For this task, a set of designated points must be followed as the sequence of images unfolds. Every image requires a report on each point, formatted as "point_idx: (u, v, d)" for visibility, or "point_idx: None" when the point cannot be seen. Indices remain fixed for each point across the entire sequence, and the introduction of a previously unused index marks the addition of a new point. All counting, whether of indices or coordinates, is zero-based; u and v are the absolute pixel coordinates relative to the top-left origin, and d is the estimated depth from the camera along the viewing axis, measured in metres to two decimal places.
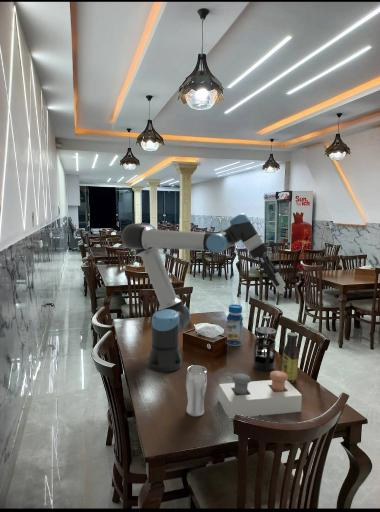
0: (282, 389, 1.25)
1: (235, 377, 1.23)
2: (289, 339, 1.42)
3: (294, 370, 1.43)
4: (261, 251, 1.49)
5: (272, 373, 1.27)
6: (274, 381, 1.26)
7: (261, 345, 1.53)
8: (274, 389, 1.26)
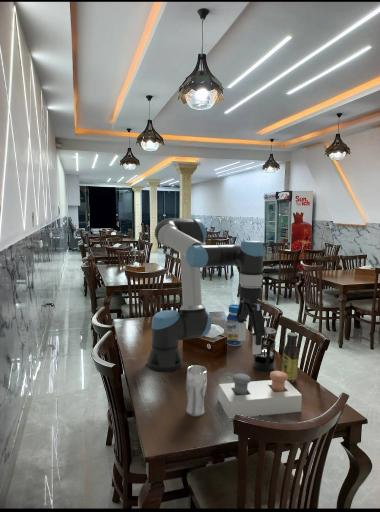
0: (282, 389, 1.25)
1: (235, 377, 1.23)
2: (289, 339, 1.42)
3: (294, 370, 1.43)
4: (258, 296, 1.19)
5: (272, 373, 1.27)
6: (274, 381, 1.26)
7: (261, 345, 1.53)
8: (274, 389, 1.26)
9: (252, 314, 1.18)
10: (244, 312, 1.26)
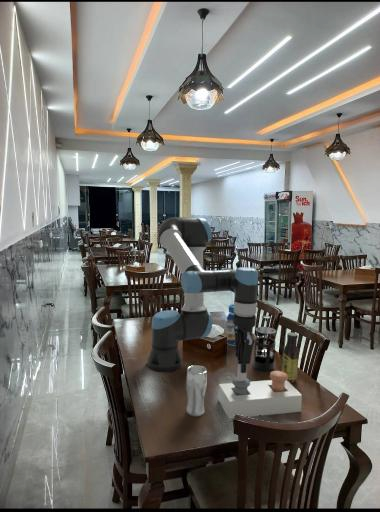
0: (282, 389, 1.25)
1: (235, 380, 1.23)
2: (289, 339, 1.42)
3: (294, 370, 1.43)
4: (252, 325, 1.18)
5: (272, 373, 1.27)
6: (274, 381, 1.26)
7: (261, 345, 1.53)
8: (274, 389, 1.26)
9: (243, 344, 1.20)
10: (241, 343, 1.22)
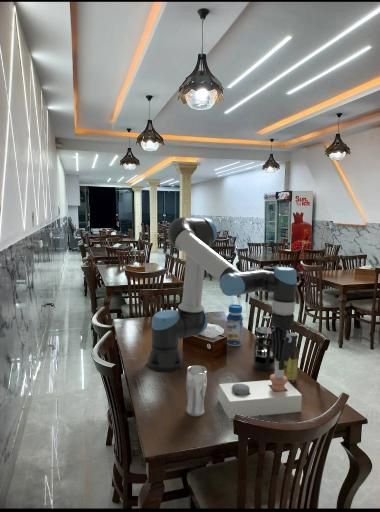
0: None
1: (234, 387, 1.24)
2: None
3: (294, 370, 1.43)
4: (290, 323, 1.21)
5: (272, 376, 1.27)
6: (274, 384, 1.26)
7: (261, 345, 1.53)
8: None
9: (281, 342, 1.23)
10: (278, 341, 1.26)
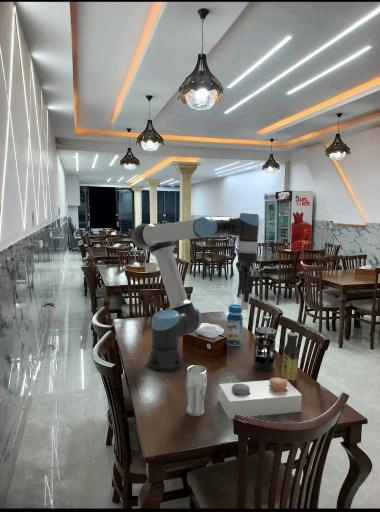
0: None
1: (234, 387, 1.24)
2: (289, 339, 1.42)
3: (294, 370, 1.43)
4: (253, 260, 1.40)
5: (272, 380, 1.28)
6: (274, 388, 1.26)
7: (261, 345, 1.53)
8: None
9: (246, 277, 1.42)
10: (244, 277, 1.44)
